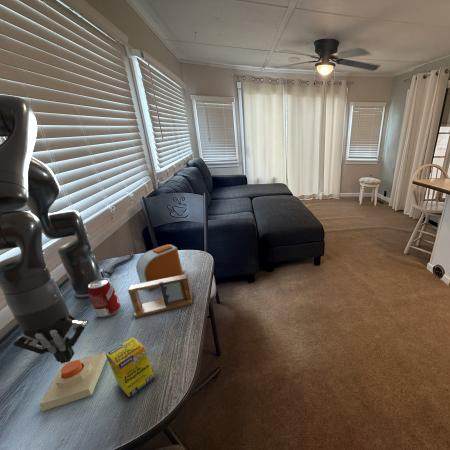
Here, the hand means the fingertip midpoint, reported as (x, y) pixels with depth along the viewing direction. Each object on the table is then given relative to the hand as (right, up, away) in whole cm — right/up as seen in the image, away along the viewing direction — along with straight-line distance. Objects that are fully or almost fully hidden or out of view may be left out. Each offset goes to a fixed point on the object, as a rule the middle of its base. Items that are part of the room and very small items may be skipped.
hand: (67, 359), depth 58 cm
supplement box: (+16, -7, +2) cm, 17 cm away
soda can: (-11, +2, +27) cm, 29 cm away
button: (0, -4, +1) cm, 4 cm away
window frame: (+7, +3, +29) cm, 30 cm away
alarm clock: (-3, +9, +46) cm, 47 cm away
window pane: (+11, +4, +28) cm, 31 cm away
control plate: (0, -7, +3) cm, 8 cm away
